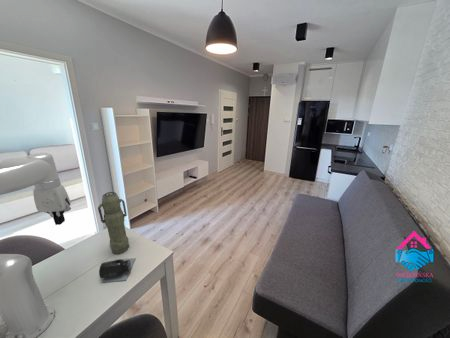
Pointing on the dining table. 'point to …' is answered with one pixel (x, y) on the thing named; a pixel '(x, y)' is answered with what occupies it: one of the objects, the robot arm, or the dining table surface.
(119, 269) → the supplement bottle
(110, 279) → the mat
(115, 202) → the thermos
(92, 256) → the dining table surface
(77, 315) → the dining table surface
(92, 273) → the dining table surface
